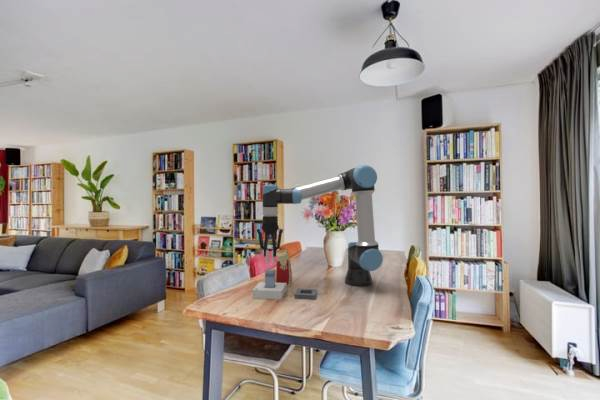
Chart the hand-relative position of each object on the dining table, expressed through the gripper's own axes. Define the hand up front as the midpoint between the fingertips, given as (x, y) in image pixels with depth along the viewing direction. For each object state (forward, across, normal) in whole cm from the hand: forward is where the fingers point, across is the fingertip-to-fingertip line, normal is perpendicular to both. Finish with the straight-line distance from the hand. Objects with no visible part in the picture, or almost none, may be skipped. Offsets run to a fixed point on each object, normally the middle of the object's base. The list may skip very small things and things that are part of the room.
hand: (270, 263), depth 146 cm
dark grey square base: (+15, -18, 0) cm, 24 cm away
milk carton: (+16, -3, -19) cm, 25 cm away
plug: (+15, 0, 0) cm, 15 cm away
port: (+15, 0, 0) cm, 15 cm away
